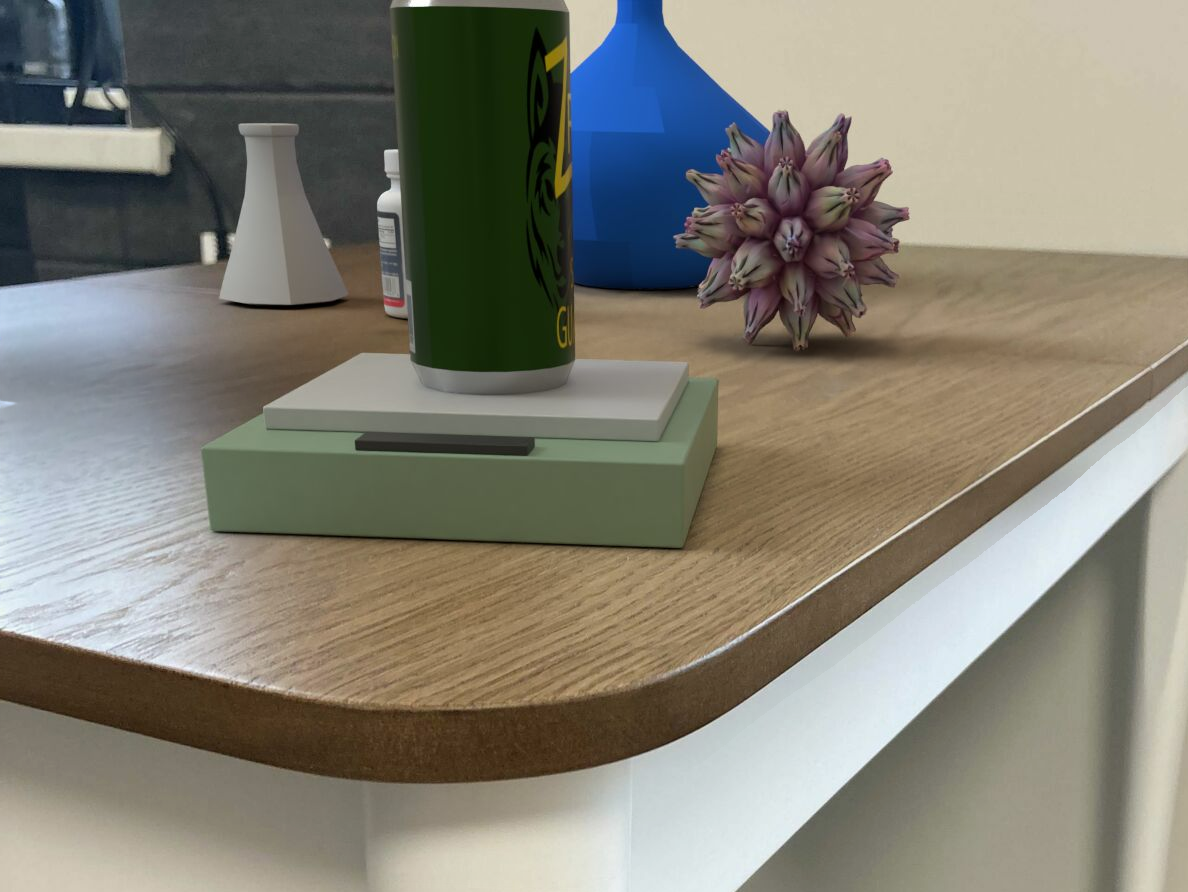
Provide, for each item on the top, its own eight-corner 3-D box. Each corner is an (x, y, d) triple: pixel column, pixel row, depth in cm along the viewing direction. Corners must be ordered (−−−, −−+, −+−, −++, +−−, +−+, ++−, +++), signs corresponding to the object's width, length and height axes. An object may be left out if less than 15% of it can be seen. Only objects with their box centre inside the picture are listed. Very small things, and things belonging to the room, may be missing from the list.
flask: (197, 303, 90) (176, 123, 86) (277, 291, 96) (261, 121, 92) (293, 312, 88) (276, 126, 84) (370, 299, 94) (357, 124, 90)
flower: (923, 374, 80) (822, 354, 70) (732, 343, 86) (613, 320, 76) (968, 145, 78) (869, 91, 67) (767, 128, 83) (648, 75, 73)
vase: (453, 277, 105) (439, -33, 97) (654, 262, 116) (655, -16, 109) (622, 305, 93) (620, -47, 85) (827, 285, 104) (842, -27, 96)
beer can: (420, 399, 47) (395, -37, 42) (403, 370, 52) (379, -25, 47) (590, 393, 48) (585, -29, 43) (559, 365, 53) (551, -18, 48)
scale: (209, 531, 44) (196, 422, 43) (348, 433, 57) (342, 347, 56) (683, 549, 43) (684, 437, 42) (717, 445, 56) (719, 358, 55)
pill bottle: (488, 310, 90) (481, 149, 86) (460, 322, 85) (451, 152, 81) (403, 307, 90) (393, 147, 87) (370, 318, 86) (358, 150, 82)
